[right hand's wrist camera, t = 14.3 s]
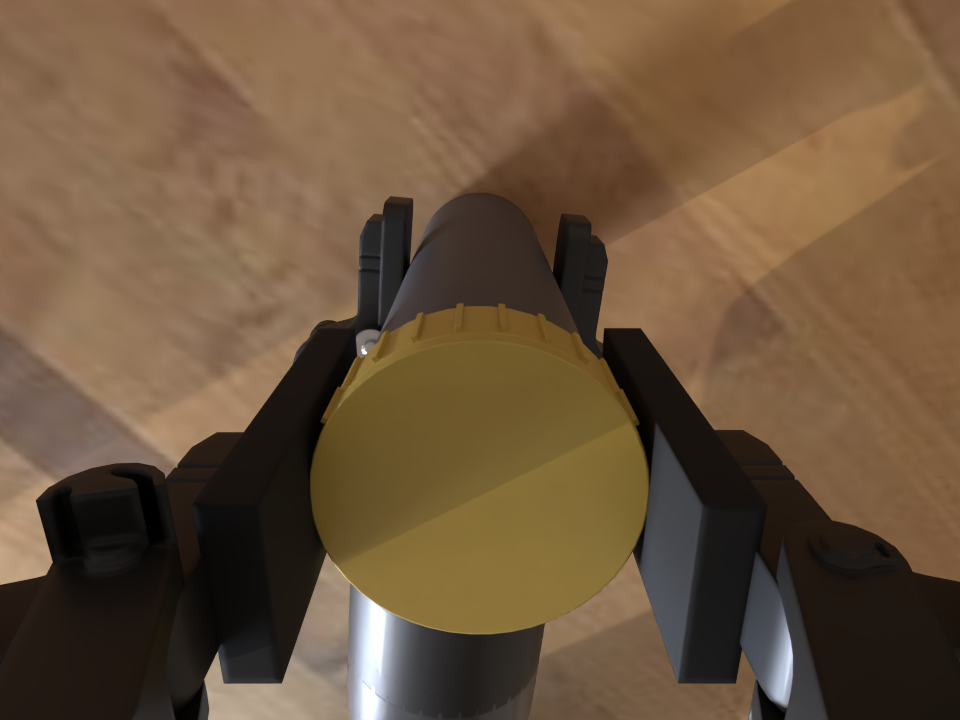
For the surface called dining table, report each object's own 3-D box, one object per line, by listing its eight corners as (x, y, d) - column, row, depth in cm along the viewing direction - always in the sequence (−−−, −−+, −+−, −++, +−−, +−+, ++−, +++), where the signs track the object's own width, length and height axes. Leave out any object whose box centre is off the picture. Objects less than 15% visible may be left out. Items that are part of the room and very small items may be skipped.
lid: (681, 357, 11) (716, 400, 10) (566, 601, 13) (579, 672, 11) (373, 257, 11) (354, 285, 9) (298, 527, 12) (270, 591, 11)
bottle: (526, 314, 28) (593, 614, 12) (415, 298, 28) (321, 581, 11) (547, 202, 27) (660, 363, 10) (429, 184, 27) (342, 318, 10)
